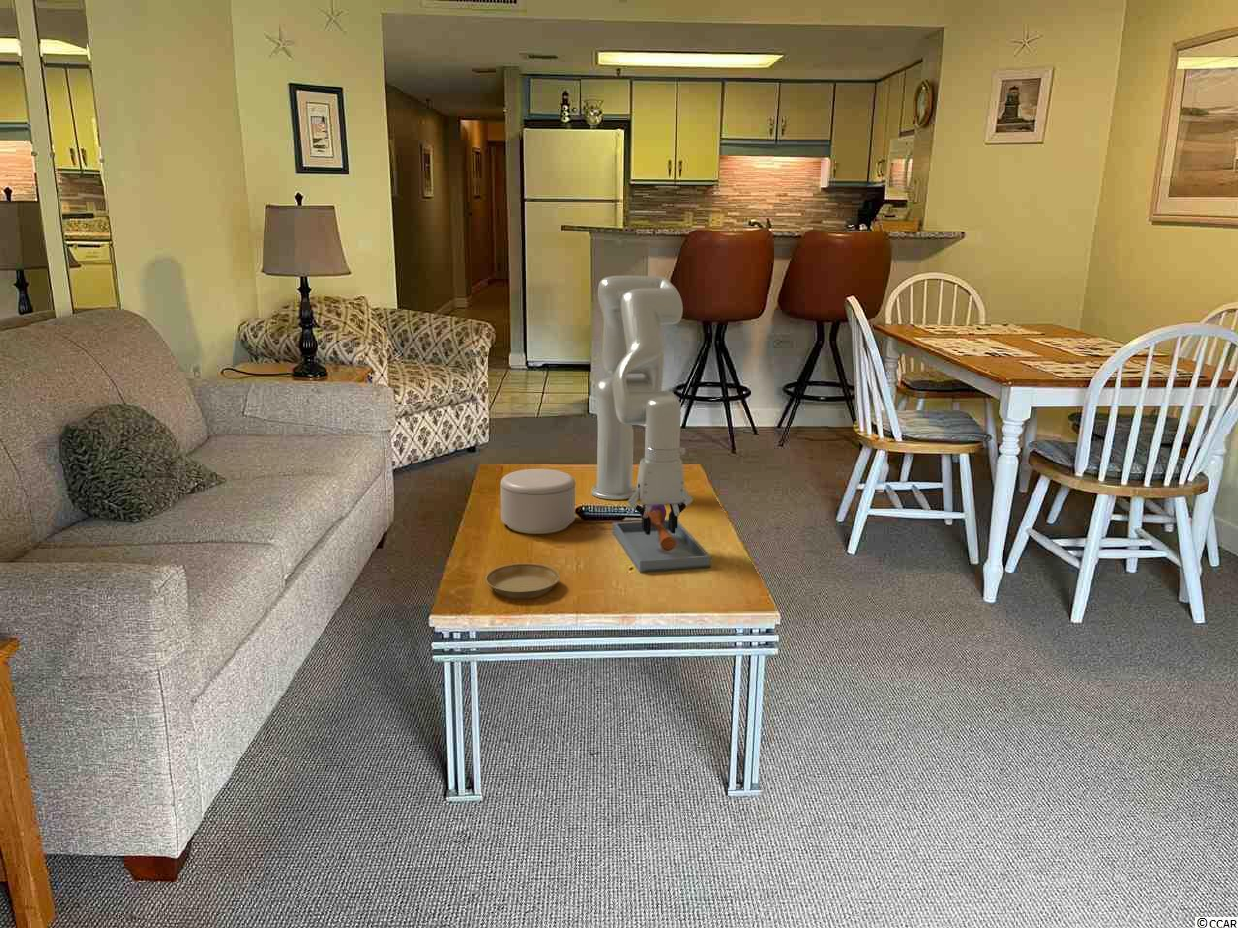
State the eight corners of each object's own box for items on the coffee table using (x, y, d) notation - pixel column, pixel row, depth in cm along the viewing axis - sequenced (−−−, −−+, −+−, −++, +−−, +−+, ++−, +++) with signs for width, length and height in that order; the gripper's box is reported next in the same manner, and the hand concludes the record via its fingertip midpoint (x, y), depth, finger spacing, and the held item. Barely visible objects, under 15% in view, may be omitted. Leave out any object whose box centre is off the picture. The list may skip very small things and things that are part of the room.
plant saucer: (508, 609, 176) (508, 597, 176) (472, 584, 188) (472, 572, 187) (573, 592, 185) (573, 580, 184) (535, 569, 196) (535, 558, 196)
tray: (612, 533, 219) (612, 522, 218) (675, 529, 223) (676, 518, 222) (639, 572, 195) (640, 561, 194) (710, 567, 199) (710, 556, 198)
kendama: (652, 534, 197) (636, 498, 215) (656, 559, 199) (640, 521, 217) (680, 528, 197) (661, 493, 216) (683, 553, 199) (665, 516, 218)
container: (490, 517, 229) (489, 471, 226) (557, 508, 237) (557, 464, 234) (516, 540, 213) (516, 491, 210) (587, 529, 221) (587, 482, 218)
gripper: (693, 448, 209) (690, 524, 213) (620, 451, 205) (618, 529, 209) (704, 456, 202) (700, 535, 206) (628, 459, 198) (626, 540, 202)
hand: (659, 531), depth 208 cm, fingers closed on kendama, 5 cm apart
